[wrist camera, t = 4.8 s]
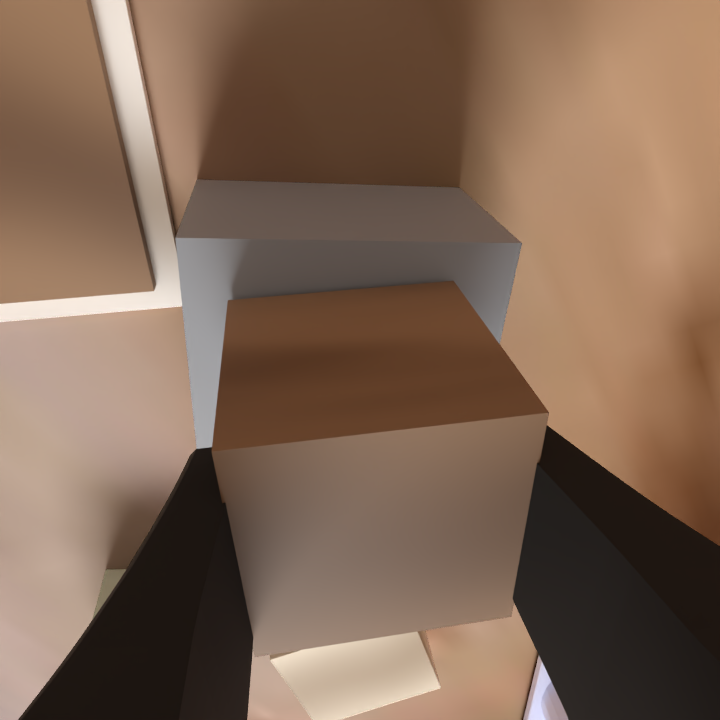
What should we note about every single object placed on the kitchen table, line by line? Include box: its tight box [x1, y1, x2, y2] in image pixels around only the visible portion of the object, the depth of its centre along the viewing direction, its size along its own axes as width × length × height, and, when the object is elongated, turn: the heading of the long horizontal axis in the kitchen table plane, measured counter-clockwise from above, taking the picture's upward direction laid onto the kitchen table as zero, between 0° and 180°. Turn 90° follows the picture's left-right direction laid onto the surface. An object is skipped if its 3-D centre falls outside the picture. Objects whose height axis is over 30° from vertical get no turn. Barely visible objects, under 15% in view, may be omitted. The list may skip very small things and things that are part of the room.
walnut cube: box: [212, 281, 549, 657], centre depth 9 cm, size 4×4×4 cm
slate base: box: [175, 179, 522, 449], centre depth 13 cm, size 6×6×4 cm
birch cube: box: [270, 630, 441, 720], centre depth 18 cm, size 4×4×4 cm
